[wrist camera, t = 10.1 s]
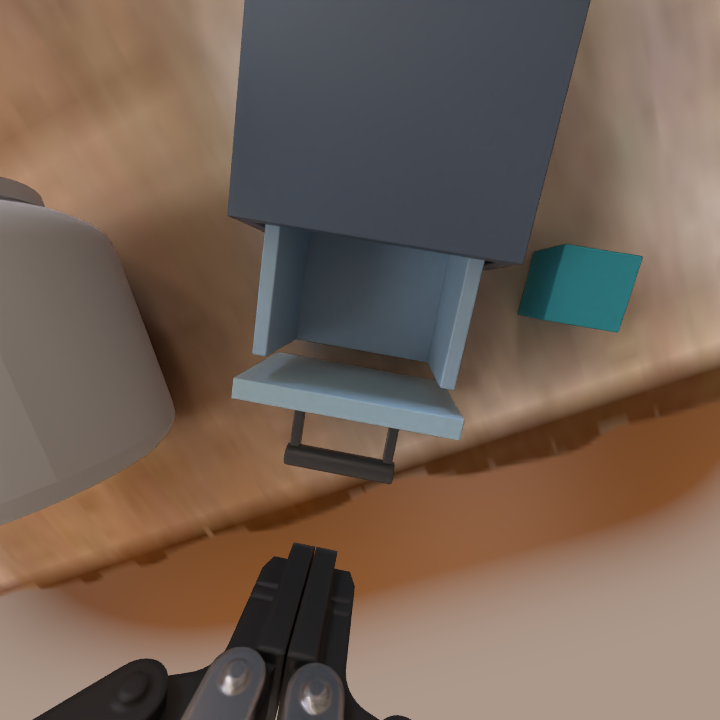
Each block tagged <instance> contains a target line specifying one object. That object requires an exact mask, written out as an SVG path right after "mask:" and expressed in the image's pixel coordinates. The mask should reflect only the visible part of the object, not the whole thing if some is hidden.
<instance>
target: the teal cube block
mask: <svg viewBox="0 0 720 720" xmlns="http://www.w3.org/2000/svg"><path fill="white" fill-rule="evenodd" d="M642 258H643V257H642V256H637V255H631V254H625V253H619V252H613V251H607V250H600V249H594V248H588V247H582V246H576V245H570V244H563V245H559V246H555V247H551V248H547V249H543V250H539V251H535V252H534V254H533V258H532V261H531V265H530V269H529V273H528V277H527V281H526V284H525V288H524V292H523V296H522V300H521V304H520V307H519V311H518V315H522V316H527V317H532V318H537V319H541V320H547V321H552V322H558V323H564V324H570V325H576V326H582V327H588V328H593V329H599V330H605V331H611V332H619V329H620V326H621V323H622V320H623V317H624V313H625V310H626V307H627V304H628V301H629V298H630V295H631V292H632V289H633V286H634V283H635V280H636V277H637V273H638V270H639V267H640V264H641V261H642Z"/></svg>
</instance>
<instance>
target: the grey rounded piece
mask: <svg viewBox="0 0 720 720" xmlns="http://www.w3.org/2000/svg"><path fill="white" fill-rule="evenodd" d="M174 419H175V409H174V405H173V401H172V398H171V395H170V393H169V390H168V387H167V385H166V382H165V379H164V377H163V374H162V371H161V369H160V366H159V363H158V361H157V358H156V355H155V353H154V350H153V347H152V345H151V342H150V339H149V337H148V334H147V331H146V328H145V326H144V323H143V320H142V318H141V315H140V312H139V310H138V307H137V304H136V302H135V299H134V296H133V294H132V291H131V288H130V286H129V283H128V280H127V278H126V275H125V272H124V270H123V267H122V264H121V262H120V259H119V256H118V254H117V252H116V250H115V248H114V246H113V244H112V242H111V241H110V239H109V238H108V237H107V236H106V235H105V234H104V233H102V232H101V231H100V230H99V229H97V228H96V227H95V226H93V225H91V224H90V223H88V222H86V221H84V220H81V219H79V218H76V217H73V216H70V215H68V214H65V213H62V212H59V211H56V210H53V209H50V208H46V207H45V206H44V203H43V201H42V198H41V196H40V195H39V194H38V193H37V192H36V191H35V190H34V189H32V188H30V187H28V186H27V185H24V184H22V183H19V182H17V181H14V180H11V179H7V178H3V177H0V525H2V524H5V523H8V522H11V521H13V520H16V519H18V518H21V517H24V516H26V515H29V514H31V513H34V512H37V511H39V510H41V509H44V508H46V507H48V506H51V505H53V504H55V503H58V502H60V501H62V500H65V499H67V498H69V497H71V496H73V495H75V494H77V493H80V492H82V491H84V490H86V489H88V488H90V487H92V486H94V485H96V484H98V483H100V482H102V481H104V480H106V479H108V478H109V477H111V476H113V475H115V474H117V473H119V472H120V471H122V470H124V469H125V468H127V467H129V466H131V465H132V464H134V463H135V462H137V461H138V460H140V459H141V458H143V457H144V456H146V455H147V454H148V453H149V452H151V451H152V450H153V449H154V448H156V446H157V445H158V444H159V443H160V442H161V440H162V439H163V438H164V437H165V436H166V434H167V433H168V432H169V431H170V430H171V428H172V425H173V422H174Z"/></svg>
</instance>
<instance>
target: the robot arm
mask: <svg viewBox="0 0 720 720" xmlns="http://www.w3.org/2000/svg"><path fill="white" fill-rule="evenodd" d="M314 551H315V547H314V546H309V545H305V544H299V543H295V542H294V543H293V546H292V549H291V551H290V554H289V557H288V559H285V558H280V557H275V556H274V557H273V558H272V559H271V560H270V561H269V562H268V563H267V564H266V565H265V566H264V567H263V568H262V570H261V572H260V575H259V577H258V579H257V581H256V585H255V586H254V588H253V590H252V593H251V596H250V597H249V599H248V602H247V604H246V606H245V608H244V611H243V613H242V615H241V617H240V620H239V622H238V624H237V626H236V629H235V631H234V633H233V635H232V638H231V640H230V642H229V644H228V646H227V648H226V650H225V651H224V652H223V653H222V654H220V655H219V656H218V657H217V658H216V659H215V660H214V661H213V663H212V664H210V665H209V666H207V667H205V668H203V669H200V670H198V671H194V672H189V673H183V674H176V675H169V676H168V674H167V670H166V669H165V667H164V665H162V663H160V662H159V661H157V660H154V659H139V660H135V661H132V662H130V663H128V664H126V665H124V666H122V667H120V668H119V669H117V670H115V671H114V672H112V673H111V674H109V675H107V676H105V677H104V678H102V679H100V680H98V681H97V682H95V683H93V684H92V685H90V686H88V687H87V688H85V689H83V690H82V691H80V692H78V693H77V694H75V695H73V696H72V697H70V698H68V699H67V700H65V701H63V702H62V703H60V704H58V705H57V706H55V707H53V708H52V709H50V710H48V711H47V712H45V713H43V714H42V715H40V716H38V717H37V718H35V719H33V720H275V717H276V713H277V710H278V706H279V710H278V716H277V720H379V719H377V718H376V717H374V716H373V715H371V714H370V713H368V712H367V711H365V710H364V709H363V708H362V707H360V705H359V704H358V703H357V702H356V701H355V699H354V698H353V696H352V695H351V693H350V691H349V688H348V685H347V681H346V662H347V654H348V644H349V635H350V626H351V615H352V607H353V598H354V588H355V586H354V583H353V580H352V577H351V574H350V572H348V571H343V570H338V569H334V567H335V562H336V556H337V551H334V550H329V549H325V548H320V547H316V551H315V554H314ZM313 557H314V558H313ZM279 702H280V704H279ZM384 720H411V719H409V718H407V717H404V716H399V715H395V716H390V717H387V718H386V719H384Z"/></svg>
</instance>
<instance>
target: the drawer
mask: <svg viewBox="0 0 720 720" xmlns="http://www.w3.org/2000/svg"><path fill="white" fill-rule="evenodd" d="M484 262H485V260H479V259H473V258H467V257H461V256H455V255H449V254H443V253H437V252H431V251H425V250H419V249H413V248H407V247H401V246H395V245H388V244H382V243H376V242H370V241H364V240H358V239H352V238H346V237H340V236H334V235H328V234H322V233H316V232H310V231H304V230H298V229H292V228H286V227H280V226H273V225H267V224H265V234H264V244H263V253H262V263H261V273H260V282H259V292H258V302H257V312H256V321H255V331H254V341H253V351H252V354H255V355H260V356H267V355H269V354H271V353H273V352H274V351H276V350H278V349H280V348H281V347H283V346H285V345H287V344H288V343H290V342H292V341H294V340H295V339H298V340H304V341H309V342H315V343H321V344H326V345H332V346H337V347H343V348H349V349H354V350H360V351H366V352H371V353H377V354H382V355H388V356H394V357H399V358H405V359H410V360H416V361H422V362H427V363H428V365H429V367H430V369H431V371H432V373H433V375H434V377H435V379H436V380H431V379H426V378H420V377H415V376H409V375H404V374H398V373H392V372H387V371H381V370H376V369H370V368H365V367H359V366H354V365H348V364H342V363H337V362H331V361H326V360H320V359H315V358H309V357H304V356H298V355H292V354H287V353H281V352H277V353H275V354H273V355H271V356H270V357H268V358H266V359H265V360H263V361H261V362H260V363H258V364H256V365H254V366H253V367H251V368H249V369H248V370H246V371H244V372H242V373H241V374H239V375H237V376H236V377H234V378H233V387H232V398H234V399H239V400H244V401H250V402H255V403H260V404H266V405H271V406H276V407H282V408H287V409H293V410H295V412H294V420H293V427H292V434H291V442H289V443H288V445H287V447H286V450H285V455H284V463H285V464H288V465H293V466H298V467H303V468H308V469H313V470H319V471H324V472H329V473H334V474H339V475H345V476H350V477H355V478H360V479H365V480H371V481H376V482H381V483H386V484H391V483H392V480H393V475H394V462H392V461H393V456H394V451H395V446H396V441H397V436H398V431H399V429H400V430H405V431H411V432H416V433H421V434H427V435H432V436H437V437H443V438H448V439H454V440H460V437H461V433H462V429H463V425H464V419H463V417H462V415H461V414H460V412H459V410H458V408H457V407H456V405H455V403H454V401H453V400H452V398H451V396H450V395H449V393H448V391H447V389H449V390H454V389H455V386H456V382H457V378H458V373H459V369H460V365H461V361H462V356H463V352H464V348H465V343H466V339H467V335H468V330H469V326H470V322H471V318H472V313H473V309H474V305H475V300H476V296H477V292H478V288H479V283H480V279H481V275H482V270H483V266H484ZM305 412H309V413H314V414H319V415H325V416H330V417H336V418H341V419H346V420H352V421H357V422H362V423H368V424H373V425H378V426H384V427H389V429H388V434H387V439H386V444H385V449H384V454H383V460H381V459H376V458H371V457H365V456H360V455H355V454H350V453H344V452H339V451H334V450H329V449H323V448H318V447H313V446H308V445H302V444H301V440H302V433H303V426H304V419H305Z"/></svg>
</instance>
